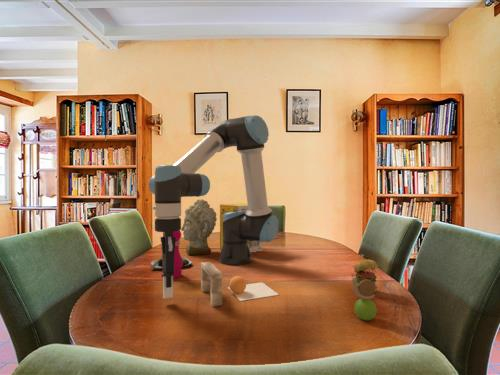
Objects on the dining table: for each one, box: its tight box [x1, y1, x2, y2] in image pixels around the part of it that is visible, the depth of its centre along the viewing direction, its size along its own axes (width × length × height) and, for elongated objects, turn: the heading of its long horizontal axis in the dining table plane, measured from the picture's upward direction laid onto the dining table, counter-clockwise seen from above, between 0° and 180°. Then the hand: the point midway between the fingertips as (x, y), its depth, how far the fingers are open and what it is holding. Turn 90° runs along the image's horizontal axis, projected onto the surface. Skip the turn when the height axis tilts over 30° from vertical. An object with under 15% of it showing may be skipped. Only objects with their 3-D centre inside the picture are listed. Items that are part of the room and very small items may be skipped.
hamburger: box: [353, 253, 379, 294], centre depth 97 cm, size 8×7×12 cm
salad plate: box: [150, 257, 193, 272], centre depth 131 cm, size 19×18×5 cm
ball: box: [228, 275, 247, 294], centre depth 95 cm, size 6×6×6 cm
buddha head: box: [180, 199, 218, 256], centre depth 155 cm, size 17×19×28 cm
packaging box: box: [219, 203, 263, 253], centre depth 159 cm, size 16×16×25 cm
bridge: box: [200, 261, 223, 307], centre depth 92 cm, size 3×14×9 cm, turn 22°
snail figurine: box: [351, 273, 378, 321], centre depth 76 cm, size 5×6×12 cm
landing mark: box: [227, 281, 280, 302], centre depth 97 cm, size 13×13×1 cm
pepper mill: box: [173, 230, 183, 279], centre depth 114 cm, size 7×7×20 cm
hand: (168, 296), depth 87 cm, fingers closed
